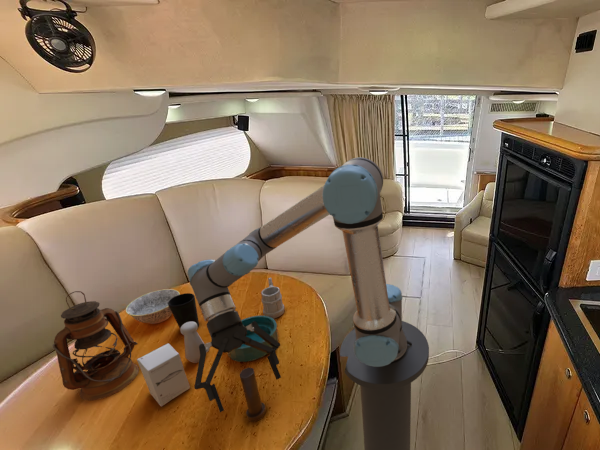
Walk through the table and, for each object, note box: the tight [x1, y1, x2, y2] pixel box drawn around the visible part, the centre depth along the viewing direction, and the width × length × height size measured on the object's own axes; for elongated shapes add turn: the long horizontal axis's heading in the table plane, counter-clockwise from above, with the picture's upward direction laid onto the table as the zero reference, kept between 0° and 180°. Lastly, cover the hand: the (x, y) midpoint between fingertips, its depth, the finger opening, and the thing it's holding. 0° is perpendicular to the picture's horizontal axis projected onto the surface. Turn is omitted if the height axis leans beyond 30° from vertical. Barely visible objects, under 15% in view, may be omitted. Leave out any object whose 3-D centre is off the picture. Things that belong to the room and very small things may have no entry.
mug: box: [260, 277, 285, 319], centre depth 118 cm, size 8×12×12 cm, turn 21°
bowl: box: [125, 288, 181, 325], centre depth 115 cm, size 16×16×8 cm
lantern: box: [52, 290, 140, 401], centre depth 84 cm, size 17×13×30 cm
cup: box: [168, 292, 200, 329], centre depth 109 cm, size 8×8×12 cm
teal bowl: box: [226, 315, 280, 363], centre depth 102 cm, size 16×16×6 cm
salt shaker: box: [179, 321, 208, 364], centre depth 95 cm, size 6×6×13 cm
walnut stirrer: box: [239, 367, 267, 423], centre depth 78 cm, size 4×4×14 cm
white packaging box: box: [136, 343, 191, 408], centre depth 84 cm, size 7×7×13 cm
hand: (252, 394), depth 77 cm, fingers open, 13 cm apart
